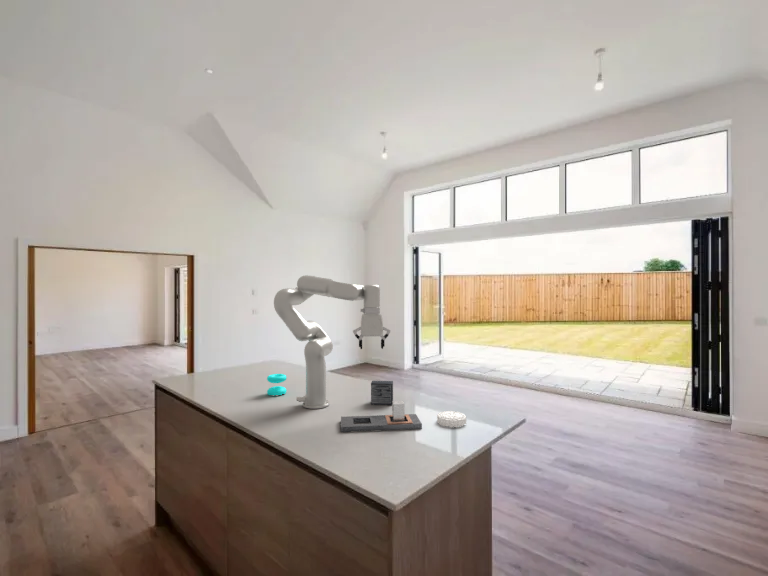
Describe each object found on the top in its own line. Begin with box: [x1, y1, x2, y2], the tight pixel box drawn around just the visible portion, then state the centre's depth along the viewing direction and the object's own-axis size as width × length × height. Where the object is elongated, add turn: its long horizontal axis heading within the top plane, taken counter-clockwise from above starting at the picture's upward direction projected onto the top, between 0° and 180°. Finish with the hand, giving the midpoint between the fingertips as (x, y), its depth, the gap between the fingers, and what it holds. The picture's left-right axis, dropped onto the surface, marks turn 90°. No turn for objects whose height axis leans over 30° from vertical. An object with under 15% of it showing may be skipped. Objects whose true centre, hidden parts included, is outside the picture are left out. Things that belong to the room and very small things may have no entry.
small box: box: [370, 380, 394, 406], centre depth 185 cm, size 11×6×10 cm, turn 84°
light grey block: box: [391, 400, 405, 422], centre depth 156 cm, size 4×4×9 cm
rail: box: [340, 413, 423, 433], centre depth 155 cm, size 32×12×2 cm, turn 96°
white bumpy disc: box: [436, 410, 467, 428], centre depth 158 cm, size 12×12×4 cm
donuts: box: [266, 373, 287, 397], centre depth 201 cm, size 10×10×10 cm
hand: (371, 348), depth 175 cm, fingers open, 9 cm apart
